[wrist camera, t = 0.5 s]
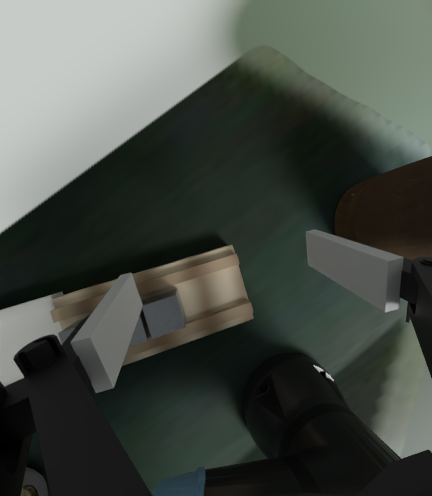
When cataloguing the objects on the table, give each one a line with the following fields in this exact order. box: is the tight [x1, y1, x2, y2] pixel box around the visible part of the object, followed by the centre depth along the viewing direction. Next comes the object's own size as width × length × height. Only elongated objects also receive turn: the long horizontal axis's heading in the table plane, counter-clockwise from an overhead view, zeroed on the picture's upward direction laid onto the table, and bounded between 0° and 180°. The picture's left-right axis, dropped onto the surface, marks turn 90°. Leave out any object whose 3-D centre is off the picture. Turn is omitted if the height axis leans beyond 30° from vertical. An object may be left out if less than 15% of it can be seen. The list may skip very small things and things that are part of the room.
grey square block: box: [128, 299, 150, 348], centre depth 25 cm, size 4×4×4 cm
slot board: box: [50, 245, 254, 366], centre depth 29 cm, size 24×11×4 cm, turn 107°
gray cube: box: [142, 289, 186, 339], centre depth 26 cm, size 4×4×4 cm
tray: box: [0, 291, 64, 387], centre depth 26 cm, size 16×12×2 cm
